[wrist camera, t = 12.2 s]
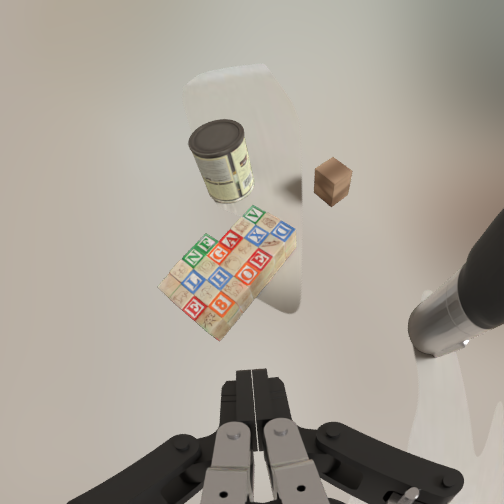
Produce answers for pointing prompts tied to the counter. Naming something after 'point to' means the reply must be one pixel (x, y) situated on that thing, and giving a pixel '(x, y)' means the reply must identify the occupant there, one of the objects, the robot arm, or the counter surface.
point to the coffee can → (223, 160)
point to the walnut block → (332, 181)
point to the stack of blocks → (229, 270)
